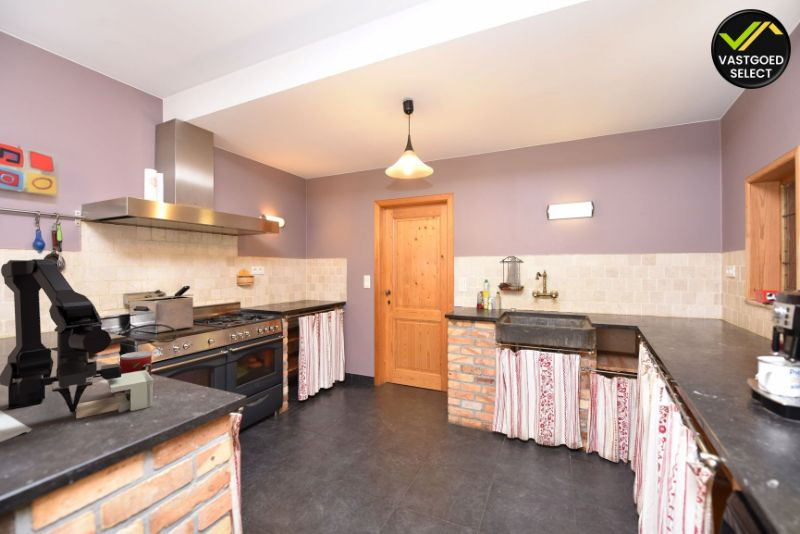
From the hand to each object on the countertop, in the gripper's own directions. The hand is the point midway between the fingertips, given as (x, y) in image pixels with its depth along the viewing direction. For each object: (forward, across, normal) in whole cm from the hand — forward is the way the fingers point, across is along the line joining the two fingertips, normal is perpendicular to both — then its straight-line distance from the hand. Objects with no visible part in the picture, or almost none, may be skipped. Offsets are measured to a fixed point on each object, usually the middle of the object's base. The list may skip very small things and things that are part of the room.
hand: (72, 411), depth 87 cm
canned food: (+1, +14, +13) cm, 19 cm away
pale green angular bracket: (+1, +12, 0) cm, 12 cm away
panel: (+2, +6, +1) cm, 6 cm away
